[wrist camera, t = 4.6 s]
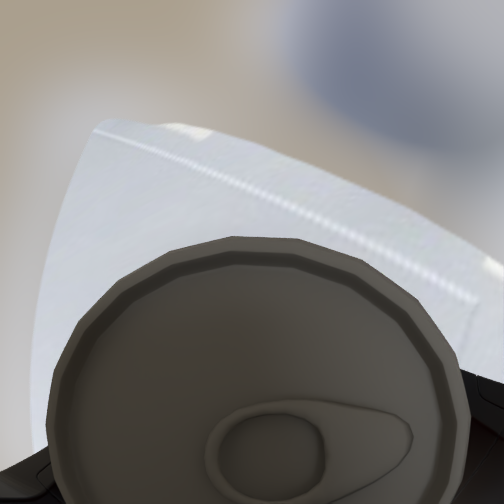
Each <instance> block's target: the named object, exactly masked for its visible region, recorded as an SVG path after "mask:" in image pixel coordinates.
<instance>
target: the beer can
mask: <svg viewBox="0 0 504 504" xmlns="http://www.w3.org/2000/svg"><path fill="white" fill-rule="evenodd" d="M470 422H471V414H470V409H469V404H468V399H467V395H466V391H465V387H464V383H463V379H462V375H461V371H460V368H459V364H458V361H457V357H456V354H455V352H454V351H453V349H452V348H451V346H450V345H449V343H448V342H447V340H446V339H445V337H444V336H443V334H442V333H441V331H440V330H439V329H438V327H437V326H436V324H435V323H434V321H433V320H432V319H431V317H430V316H429V315H428V313H427V312H426V310H425V309H424V308H423V306H422V305H421V304H420V302H419V301H418V300H417V299H416V298H415V297H413V296H412V295H411V294H409V293H408V292H407V291H405V290H404V289H403V288H401V287H400V286H398V285H397V284H396V283H394V282H393V281H392V280H390V279H389V278H387V277H386V276H385V275H383V274H382V273H380V272H379V271H377V270H376V269H375V268H373V267H372V266H370V265H369V264H367V263H366V262H365V261H363V260H361V259H358V258H355V257H352V256H349V255H346V254H343V253H340V252H337V251H334V250H331V249H328V248H325V247H322V246H319V245H316V244H313V243H310V242H307V241H304V240H300V239H294V238H268V237H240V236H230V237H226V238H222V239H218V240H213V241H209V242H205V243H201V244H197V245H193V246H189V247H185V248H180V249H176V250H172V251H169V252H167V253H166V254H164V255H162V256H160V257H158V258H157V259H155V260H153V261H151V262H149V263H148V264H146V265H144V266H142V267H141V268H139V269H137V270H135V271H134V272H132V273H130V274H128V275H127V276H125V277H123V278H121V279H120V280H118V281H117V282H116V283H115V284H114V285H113V286H112V287H111V288H110V289H109V290H108V291H107V292H106V293H105V294H104V295H103V296H102V297H101V298H100V299H99V300H98V301H97V302H96V303H95V304H94V305H93V306H92V308H91V309H90V310H89V311H88V312H87V313H86V314H85V315H84V316H83V317H82V318H81V319H80V320H79V321H78V323H77V325H76V327H75V329H74V331H73V333H72V335H71V337H70V338H69V340H68V342H67V344H66V346H65V348H64V350H63V352H62V354H61V356H60V359H59V361H58V363H57V365H56V367H55V369H54V372H53V378H52V383H51V389H50V395H49V401H48V408H47V416H46V433H47V441H48V447H49V454H50V459H51V465H52V470H53V475H54V479H55V481H56V483H57V485H58V488H59V490H60V492H61V494H62V496H63V498H64V500H65V502H66V504H451V502H452V500H453V498H454V496H455V494H456V492H457V490H458V488H459V486H460V484H461V482H462V479H463V474H464V468H465V463H466V456H467V450H468V442H469V433H470Z"/></svg>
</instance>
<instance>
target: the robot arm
mask: <svg viewBox="0 0 504 504" xmlns="http://www.w3.org/2000/svg"><path fill="white" fill-rule="evenodd" d="M460 371H461V375H462V379H463V383H464V387H465V391H466V395H467V399H468V404H469V409H470V414H471V422H470V433H469V442H468V450H467V456H466V463H465V468H464V474H463V479H462V482H461V484H460V486H459V488H458V490H457V492H456V494H455V496H454V498H453V500H452V502H451V504H504V384H503V383H500V382H496V381H493V380H490V379H487V378H484V377H482V376H479V375H477V376H476V374H473V373H470V372H467V371H465V370H462V369H460ZM0 504H66V502H65V500H64V498H63V496H62V494H61V492H60V490H59V488H58V485H57V483H56V481H55V479H54V475H53V470H52V465H51V459H50V454H49V447H48V446H47V447H45V448H44V449H42V450H41V451H39V452H37V453H35V454H34V455H32V456H30V457H28V458H26V459H25V460H23V461H21V462H19V463H17V464H15V465H13V466H11V467H9V468H7V469H5V470H3V471H1V472H0Z"/></svg>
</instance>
